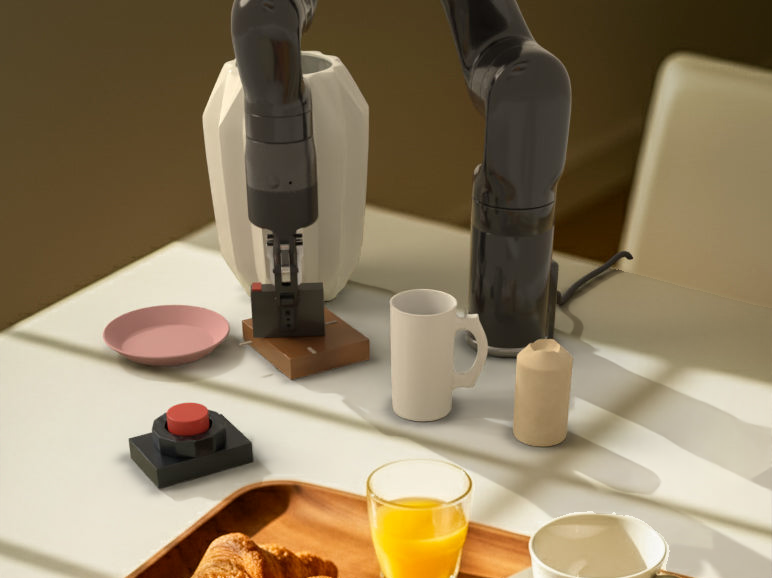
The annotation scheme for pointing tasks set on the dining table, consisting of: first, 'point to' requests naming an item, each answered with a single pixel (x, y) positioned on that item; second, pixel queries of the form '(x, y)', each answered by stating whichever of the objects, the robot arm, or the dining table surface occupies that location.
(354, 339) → the oak panel
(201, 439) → the button block
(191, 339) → the plate
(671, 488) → the dining table surface
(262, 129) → the robot arm
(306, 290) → the bar knob
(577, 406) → the dining table surface
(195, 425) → the button
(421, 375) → the mug
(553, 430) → the candle
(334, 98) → the vase
